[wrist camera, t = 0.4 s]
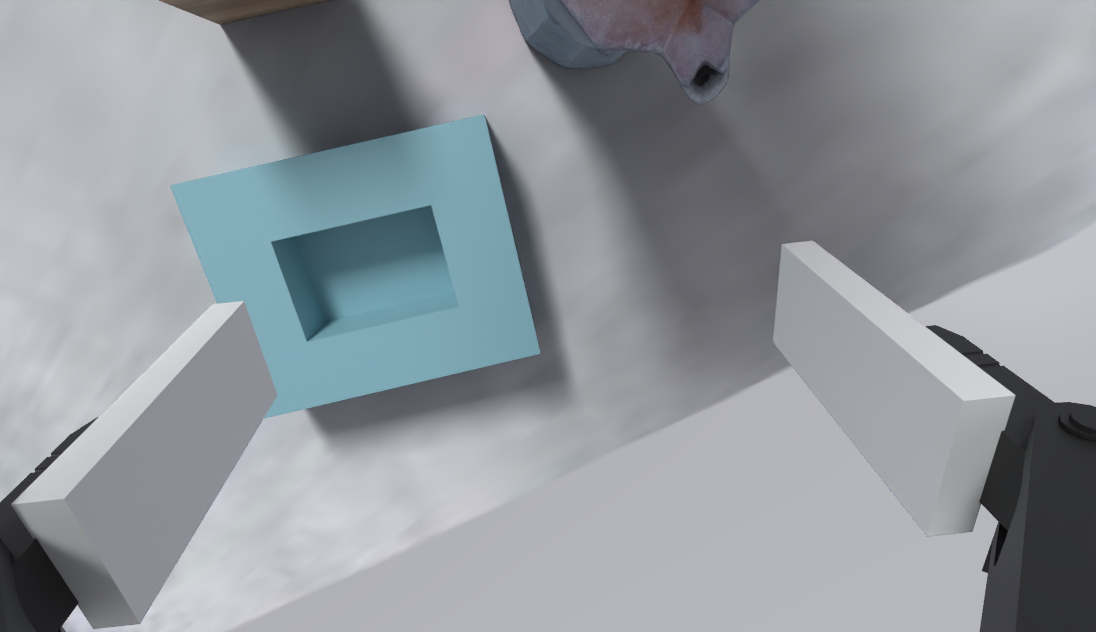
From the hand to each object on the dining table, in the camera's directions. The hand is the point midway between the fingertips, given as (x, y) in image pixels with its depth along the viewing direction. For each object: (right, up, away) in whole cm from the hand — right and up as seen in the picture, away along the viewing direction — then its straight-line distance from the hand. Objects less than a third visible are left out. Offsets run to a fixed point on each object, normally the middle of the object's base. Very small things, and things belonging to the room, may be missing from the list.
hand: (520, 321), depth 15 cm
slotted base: (-10, +4, +24) cm, 26 cm away
